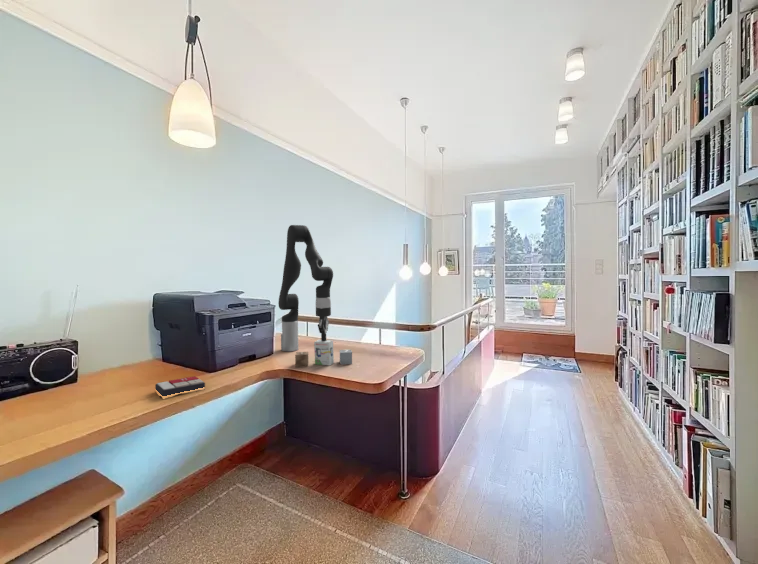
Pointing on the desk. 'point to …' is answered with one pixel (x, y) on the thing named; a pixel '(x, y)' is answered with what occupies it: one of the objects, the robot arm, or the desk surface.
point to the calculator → (179, 385)
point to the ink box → (324, 352)
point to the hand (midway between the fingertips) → (323, 340)
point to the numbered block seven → (345, 357)
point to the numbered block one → (301, 359)
